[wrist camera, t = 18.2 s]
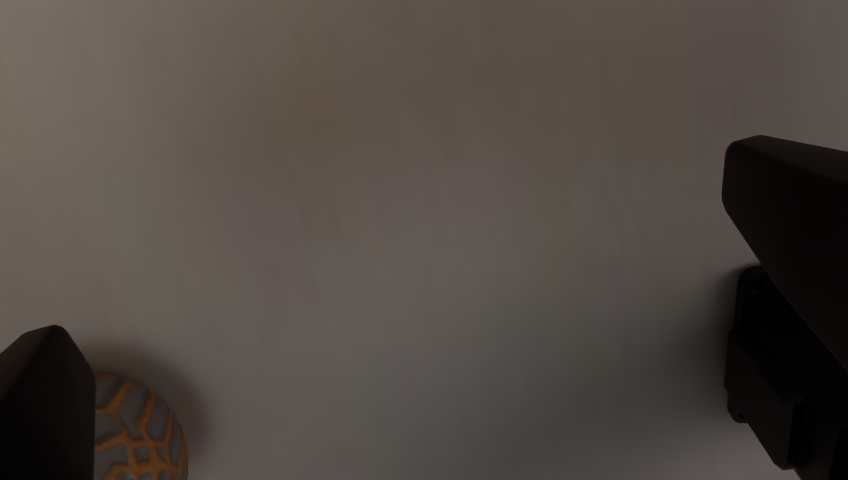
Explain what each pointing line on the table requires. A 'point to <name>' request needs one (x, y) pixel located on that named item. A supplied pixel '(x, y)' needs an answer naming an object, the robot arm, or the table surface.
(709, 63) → the table surface
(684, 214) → the table surface
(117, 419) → the vase
